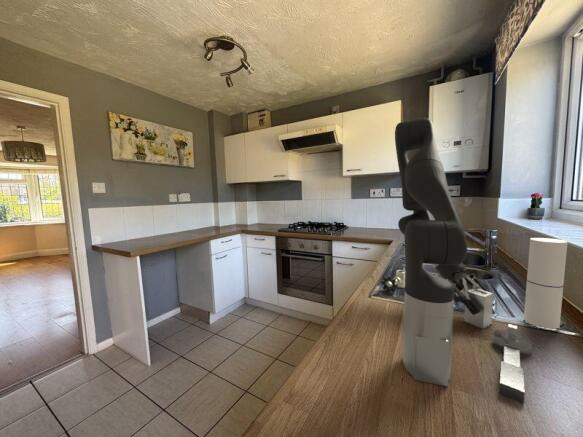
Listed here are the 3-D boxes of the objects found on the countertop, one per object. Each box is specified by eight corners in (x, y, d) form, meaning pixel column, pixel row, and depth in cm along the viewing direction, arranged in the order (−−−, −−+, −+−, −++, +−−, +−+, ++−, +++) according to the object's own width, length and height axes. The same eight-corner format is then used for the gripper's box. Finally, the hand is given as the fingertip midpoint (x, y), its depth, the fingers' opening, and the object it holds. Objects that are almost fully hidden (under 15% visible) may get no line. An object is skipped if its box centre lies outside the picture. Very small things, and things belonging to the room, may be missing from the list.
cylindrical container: (522, 323, 70) (528, 240, 67) (525, 315, 74) (531, 236, 72) (558, 334, 64) (567, 243, 62) (559, 324, 69) (567, 240, 66)
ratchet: (493, 335, 64) (494, 316, 64) (530, 346, 59) (531, 325, 59) (487, 388, 47) (488, 362, 46) (537, 409, 42) (540, 380, 42)
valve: (395, 283, 104) (380, 290, 96) (395, 268, 103) (380, 274, 95) (410, 287, 98) (396, 295, 91) (411, 271, 98) (396, 278, 90)
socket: (491, 324, 69) (493, 293, 69) (482, 328, 67) (484, 296, 66) (472, 317, 74) (474, 287, 73) (464, 321, 72) (465, 290, 71)
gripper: (440, 258, 72) (482, 311, 63) (466, 252, 79) (508, 299, 69) (423, 271, 77) (460, 321, 68) (448, 264, 84) (485, 309, 75)
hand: (484, 310), depth 69 cm, fingers open, 7 cm apart
